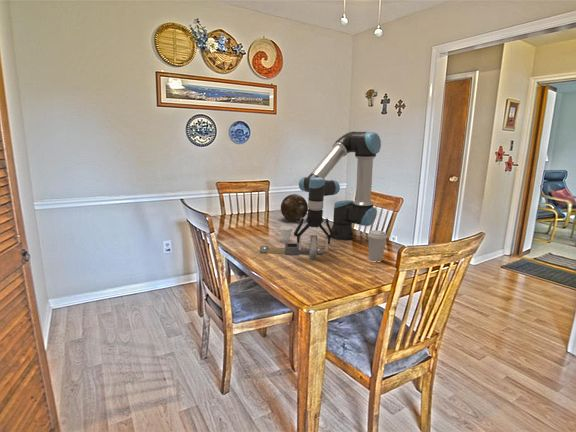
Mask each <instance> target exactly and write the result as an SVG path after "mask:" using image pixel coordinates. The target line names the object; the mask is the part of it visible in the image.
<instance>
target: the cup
mask: <svg viewBox="0 0 576 432" xmlns="http://www.w3.org/2000/svg"><path fill="white" fill-rule="evenodd" d="M292 230H293V228H292V227H290V226H281V227H280V229H276V231H275V233H274V237H275V238H276V240H277V241H280V242H283V243H290V239H291V235H292ZM277 232H280V237H281V240H280V238H278V237H277Z"/></svg>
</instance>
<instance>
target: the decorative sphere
mask: <svg viewBox="0 0 576 432" xmlns="http://www.w3.org/2000/svg"><path fill="white" fill-rule="evenodd" d="M308 209H309V208H308V201H307V200H306V199H305V197H303V196H302V195H300V194H295V193H293V194H289V195H287V196H286V197H285V198H283V200H282V201H281V204H280V212H281V214H282V216H283V217H284V219H286V220H287V221H289V222H299V221H301V218H302V217H303V218H305V217H306V216H307V214H308Z"/></svg>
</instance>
